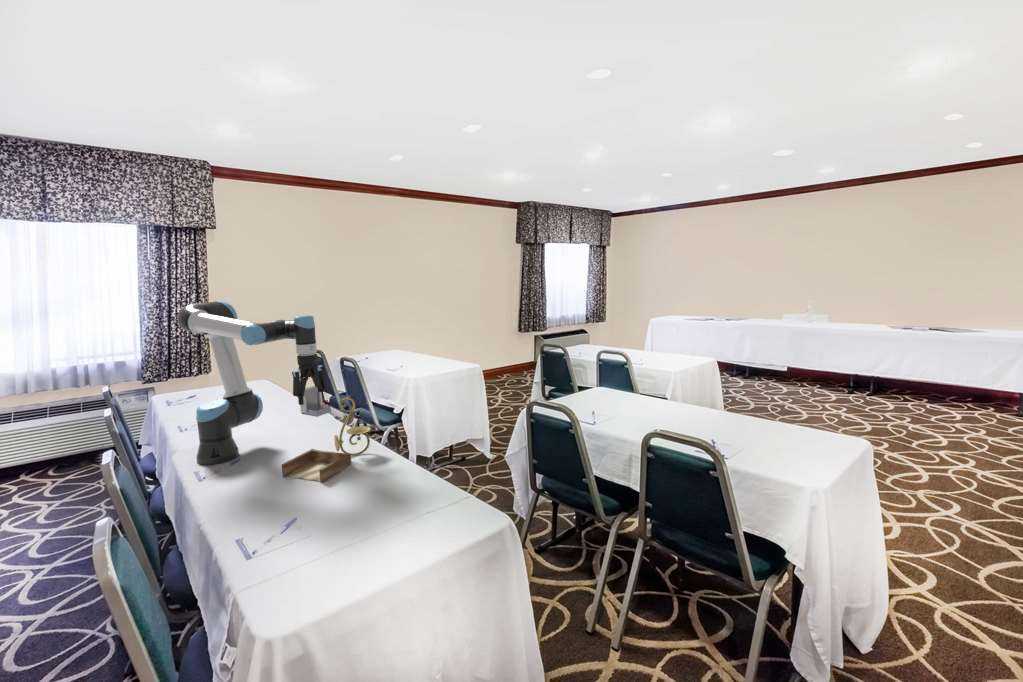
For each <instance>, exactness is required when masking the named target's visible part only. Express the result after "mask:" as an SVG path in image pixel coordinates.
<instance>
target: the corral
mask: <svg viewBox="0 0 1023 682" xmlns="http://www.w3.org/2000/svg"><path fill="white" fill-rule="evenodd" d="M350 453H351V452H348V454H345V453H343V452H338V451H336V452H335V451H328V450H320V449H315V448H311V449H309V450H307V451H305V452H303V453H301V454H299V455H297V456H295V457H294V458H291V459H289V460H288V461H285V462H283V463H282V464H281V471H282V478H292V479H299V480H304V481H305V480H306V481H313V482H320V483H319V484H325V483H326V482H327V481H329V480H331V479H333V478H334V477H336V476H337V475H339V474H340V473H342V472H344V471H346V470H347V469H349V468H350V467H352V456H351V454H350Z"/></svg>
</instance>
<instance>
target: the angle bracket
mask: <svg viewBox="0 0 1023 682" xmlns="http://www.w3.org/2000/svg"><path fill="white" fill-rule="evenodd" d="M304 396H305V397H306V407H307V413H303V412H301V415H306V416H312V417H317V418H318V417H320V416H324V415H326V414H329V413H332V407H331V405H325V404H323V405H320V404H319V393H318V386H315V385H313V386H309V387H305V392H304Z"/></svg>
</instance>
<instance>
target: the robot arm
mask: <svg viewBox="0 0 1023 682" xmlns="http://www.w3.org/2000/svg"><path fill="white" fill-rule="evenodd" d="M177 323H178V325H179V326H180V328H181V329H182V330H184V331H187V332H188V333H193V334H198V335H199V334H202V333H203V336H204V337H206V338H207V339H209V342H210V343H211V344H210V345H211V348H212V352H213V355H214V359H215V362H216V365H217V369H218V372H219V375H220V379H221V382H222V386H223V389H224V392H225V393H224V395H222V398H220V399H213V400H209V401H207V402H203V403H202V404H200V405H199V406H198V407H197V409H196V411H195V412H196V414H195V415H196V417H195V419H196V422H197V431H198V439H199V445H198V450H197V454H196V463H197V464H199V465H216V464H217V465H218V464H222V463H226V462H229V461H231V460H234V459H235V458H237V457H239V455H240V451H239V447H238V446H237V443H236V442H235V439H234V438H233V431H232V429H234V428H237V427H239V426H242V425H245V424H247V423H251V422H253V421H254V420H255V421H256V420H257V419H258V418H260V417H261V414H262V413H263V409H264V408H263V407H264V405H263V401H262V398H261V397H260V396H259V395H258V394H257V393H254V392H253V389H252V388H249V387H248V385H247V383H246V382H247V381H246V379H245V374H244V371H243V368H242V365H241V360H240V358H239V355H238V350H237V347H236V343H235V340H239V341H242V342H243V343H244V344H245V345H247V346H259V345H262V344H266V343H271V342H276V341H282V340H295V347H296V348H295V350H296V354H297V356H296V360H297V365H298V368H297V370H295V371H292V372H291V375H292V396H293V397H297V399H298V405H300V406H299V409H300V412H301V413H302V412H303V413H307V407H306V397H305V396H304V392H305V388H307V383H308V382H307V381H308V380H309V378H311V380H312V382H313V384H314V386H318V393H319V404H320V405H324V404H323V399H324V392H325V390H327V388H328V386H327V382H326V377H325V366H324V365H318V362H319V359H318V354H317V352H318V349H317V337H316V324H315V319H314V316H313V315H310V314H306V315H305V314H301V315H294V316H293V320H292V319H291V320H288V319H287V320H285V319H275V320H272V321H271V322H270V321H269V322H262V323H258V322H251V321H248V320H243V319H238V314H237V311H236V310H235V308H234V306H233V305H231V304H230V303H228V302H226V301H217V300H215V301H210V302H209V301H208V302H207V301H206V302H200V303H198V302H197V303H190V304H188V305H185V306H184V307H182V308H181V309H180V310H179V311H178V314H177Z"/></svg>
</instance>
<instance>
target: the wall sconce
mask: <svg viewBox="0 0 1023 682" xmlns="http://www.w3.org/2000/svg"><path fill="white" fill-rule="evenodd" d="M345 401H350V402H351V403H352V409H351V411H350V412H349V414H348V416H347V417H346V418H345V421H344V422H343V423H342V426H341V429H340V432H339V433H340V434H339V435H338V434H335V435H334V437H333V438H334V446H335V450H336V452H339V451H340V450H341V453H345V454H348V453H350V454H351V457H353V456H355V457H356V456H359V455H362V454H363V453H365V452H366V451H367V450H368V449H369V447H370V444H371V443H370V441H371V440H370V439H371V438H370V436H369V435H368V432H370V431H371V427H370V426H365V425H361V426H360V425H359V426H354V427H351V428H348V429H346V431H345V432H346V433H347V434H349V435H350V437H349V439H348V442H349V444H350V445H351V446H355V445H357V444H358V442H356V441H354V442H353V441H352V439H353V438H354V437H356V436H357V437H356V439H357V441H361V439H362V437H361V435H364V436H365V437H366V441H367V442H366V445H365V448H364V449H362V450H360V451H359V452H356V453H355V452H354V453H351V452H347V450H345V449H344V447H343V444H344V440H343V439H342V438H343V435H344V434H343V433H344V429H345V427H346V425H347V423H348V422H349V420H350V418H351V417H352V415H353V414H354V412H355V410H356V403H355V401H354V399H352V398H351V397H344V398H342V399H341V400H340V401H339V407H340V408H343V409H344V408H346V407H347V404H346V403H345V404H342V403H343V402H345Z"/></svg>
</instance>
